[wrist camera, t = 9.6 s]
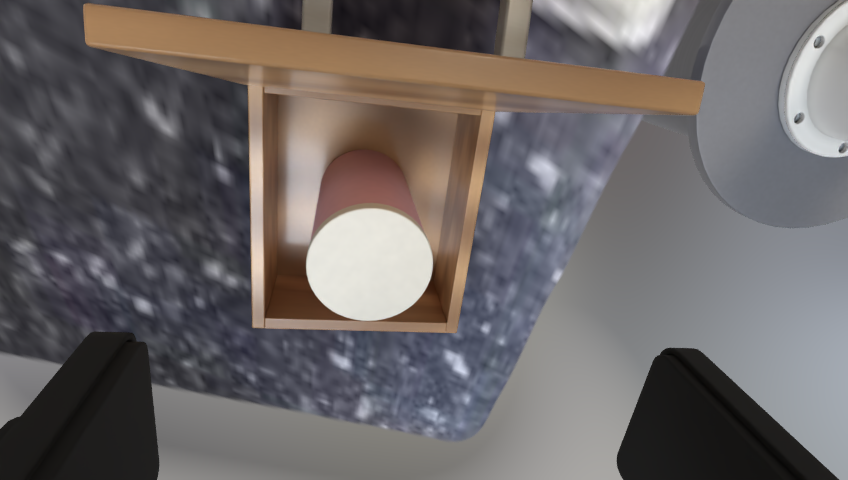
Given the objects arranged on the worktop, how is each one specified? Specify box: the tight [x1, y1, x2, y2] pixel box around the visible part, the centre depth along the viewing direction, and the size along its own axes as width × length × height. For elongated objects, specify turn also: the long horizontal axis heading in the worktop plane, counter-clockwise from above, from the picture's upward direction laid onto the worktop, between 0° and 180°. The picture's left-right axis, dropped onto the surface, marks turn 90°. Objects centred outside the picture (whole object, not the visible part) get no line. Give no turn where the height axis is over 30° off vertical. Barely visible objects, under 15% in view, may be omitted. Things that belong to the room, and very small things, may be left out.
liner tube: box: [306, 149, 433, 321], centre depth 30 cm, size 6×6×12 cm
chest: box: [248, 85, 495, 333], centre depth 33 cm, size 16×14×7 cm
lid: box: [83, 0, 705, 115], centre depth 18 cm, size 16×14×6 cm
